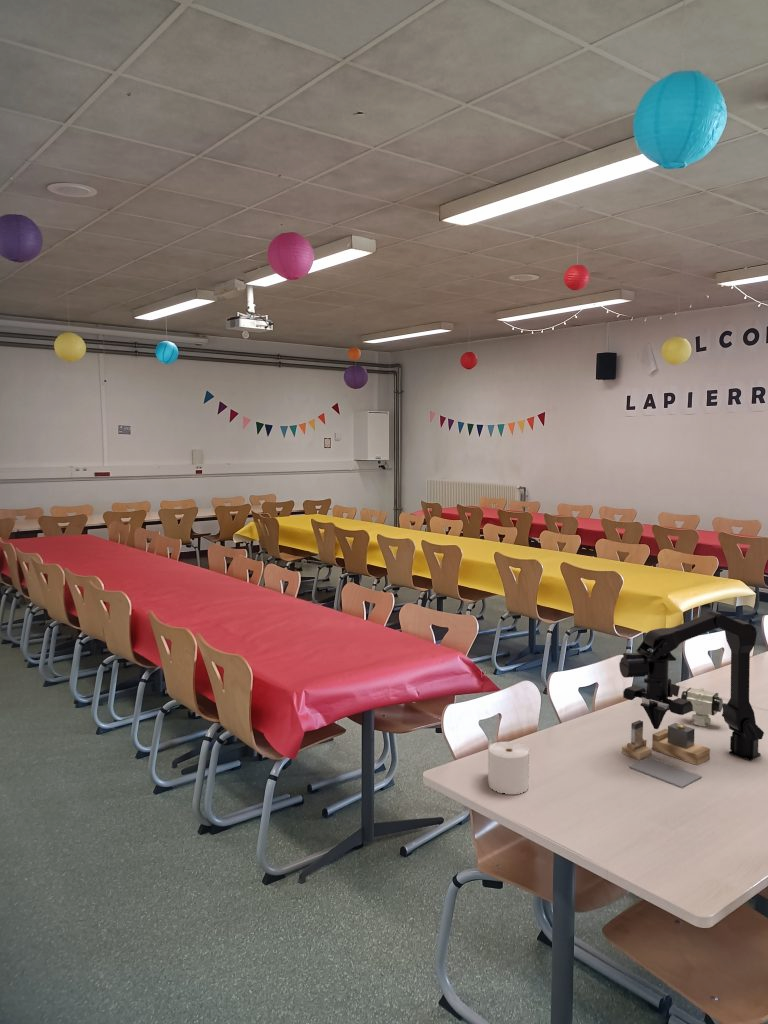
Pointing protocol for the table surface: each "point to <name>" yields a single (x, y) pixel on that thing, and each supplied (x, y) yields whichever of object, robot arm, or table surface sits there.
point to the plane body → (679, 749)
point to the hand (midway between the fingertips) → (656, 728)
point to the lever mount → (637, 750)
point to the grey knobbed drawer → (681, 735)
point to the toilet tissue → (508, 767)
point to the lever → (637, 733)
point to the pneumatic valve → (703, 705)
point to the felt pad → (665, 772)
